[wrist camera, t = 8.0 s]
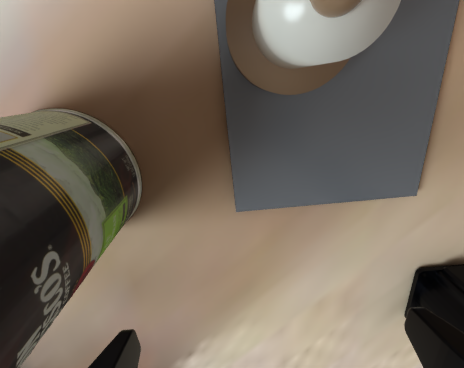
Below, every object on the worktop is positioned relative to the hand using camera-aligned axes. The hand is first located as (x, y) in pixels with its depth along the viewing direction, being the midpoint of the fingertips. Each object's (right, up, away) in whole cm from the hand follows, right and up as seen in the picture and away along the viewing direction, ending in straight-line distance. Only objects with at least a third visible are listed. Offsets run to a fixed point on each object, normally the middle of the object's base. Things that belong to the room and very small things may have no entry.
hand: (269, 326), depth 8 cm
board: (+5, +11, +9) cm, 15 cm away
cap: (+2, +13, +4) cm, 14 cm away
